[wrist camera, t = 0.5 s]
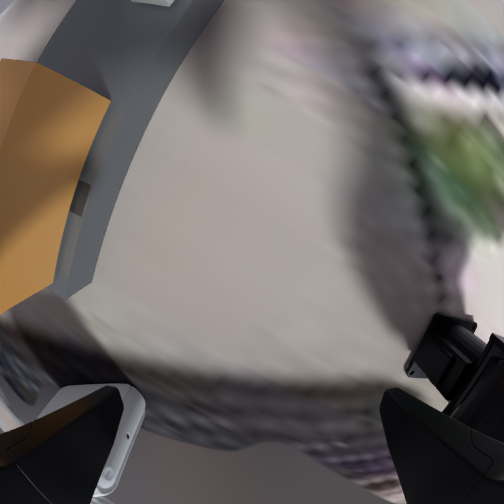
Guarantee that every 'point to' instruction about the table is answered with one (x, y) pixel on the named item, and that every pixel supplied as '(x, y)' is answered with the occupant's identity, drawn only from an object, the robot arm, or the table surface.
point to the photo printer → (125, 432)
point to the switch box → (115, 104)
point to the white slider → (156, 2)
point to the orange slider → (39, 169)
